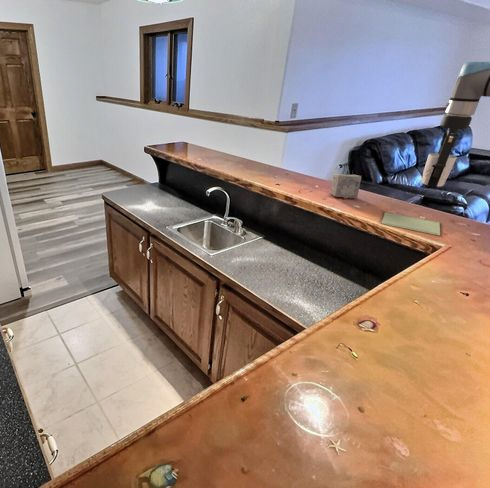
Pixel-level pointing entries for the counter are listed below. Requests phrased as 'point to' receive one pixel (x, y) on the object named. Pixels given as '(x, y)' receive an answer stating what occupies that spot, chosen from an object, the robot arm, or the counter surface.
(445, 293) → the counter surface
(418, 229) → the napkin
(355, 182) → the incense holder
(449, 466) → the counter surface
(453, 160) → the white cup
